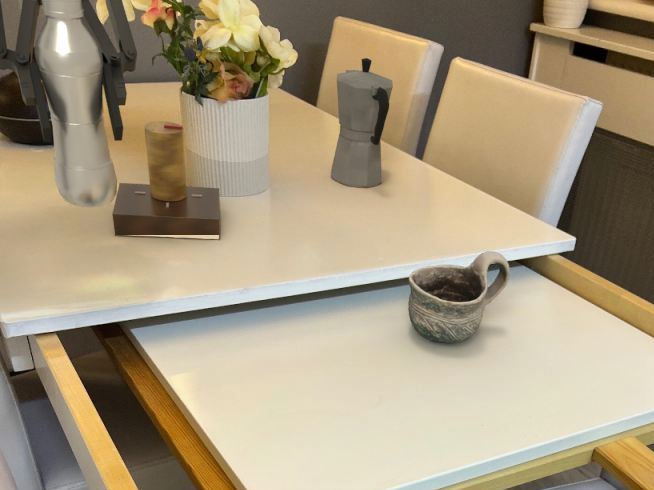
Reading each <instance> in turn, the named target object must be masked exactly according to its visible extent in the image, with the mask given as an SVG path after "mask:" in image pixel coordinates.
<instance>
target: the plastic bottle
mask: <svg viewBox="0 0 654 490" xmlns="http://www.w3.org/2000/svg"><path fill="white" fill-rule="evenodd" d="M40 8H41V13H42V14H43V15H45V20H44V23H43V25H42V27H41V29H40V30H39V33H38V35H37V37H36V40H35V42H34V44H35V45H34V56H35V57H34V58H35V60H36V62H35V63H37V65H38V69H39V74H40V79H41V83H42V87H43V90H44V93H45V96H46V102H47V106H48V111H49V112H50V120H51V126H52V136H53V147H54V161H53V162H54V164H53V169H54V170H53V171H54V173H53V174H54V182H55V185H56V188H57V191H58V194H59V195H60V196H61V197H62V199H63V200H64V201H65V202H66V203H68V204H69V205H71V206H76V207H81V208H99V207H104V206H107V205H109V204H110V203H112V202H113V201H114V199H115V197H116V196H117V192H118V178H117V173H116V169H115V166H114V162H113V158H112V157H111V153H110V147H109V142H108V141H109V140H108V136H107V131H106V127H105V116H104V99H103V93H104V88H103V68H102V67H103V57H102V54H101V51H100V48H99V45H98V44H97V42H96V41H95V39H94V37H93V36H92V34H91V33H90V32H89V30H88V29H87V28H86V26H85V25H84V24H83V22H82V19H81V17H83V16H84V10H83V8H82V3H81V0H42V5H40Z"/></svg>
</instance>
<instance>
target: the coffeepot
mask: <svg viewBox="0 0 654 490" xmlns="http://www.w3.org/2000/svg"><path fill="white" fill-rule="evenodd" d="M371 65H372V59H370V58H367V57H365V58H364V57H363V58H361V70H358V69H357V70H356V69H352V70H351V69H346V70H345V72H339V73H337V74H336V90H337V91H336V92H337V93H336V94H337V106H338V107H337V110H338V124H339V134H338V137H337V143H336V147H335V151H334V156H333V160H332V165H331V169H330V170H331V172H330V178H331V179H332V180H333V181H334V182H337V183H338V184H341V185H344V186H348V187H353V188H360V189H361V188H372V187H377V186H378V185H380V184H383V173H382V145H381V138H382V135H383V133H384V132H383V131H384V127H385V123H386V120H387V116H388V113H389V110H390V99H391V95H392V92H393V88H394V85H393V80H392V79H390V78H388V77H385V76H383V75H380V74H378V73H374V72H371V71H370V70H371Z"/></svg>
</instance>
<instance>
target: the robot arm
mask: <svg viewBox="0 0 654 490" xmlns="http://www.w3.org/2000/svg"><path fill="white" fill-rule="evenodd" d="M104 1H105V5H106V10H107V13H108V17H109V20H110V22H111V27H112V30H113V33H114V37H115V41H116V44H117V47H118V51H119V52H118V51H117V49H116V47H115V45H114V43H113V42H112V39H111V37H110V36H109V35H108V33H107V30H106V29H105V27H104V25H103V23H102V22H101V20H100V17H99V16H98V14H97V13H96V11H95V9H94V7H93V5H92V3H91V2H90V0H81V3H82V8H83V10H84V16H83V17H81V19H82V22H83V24H84V25H85V26H86V28H87V29H88V30H89V32H90V33H91V34H92V36H93V37H94V39H95V41H96V42H97V44H98V45H99V48H100V51H101V54H102V57H103V67H102V68H103V93H104V96H105V101H106V102H105V103H106V106H107V111H108V116H109V120H110V126H111V131H112V136H113V139H114V141H116V142H117V141H118V142H119V141H123V135H124V125H123V118H122V115H121V109H120V106H126V103H127V96H128V93H127V88H126V82H125V77H124V74H125V72H128V73H132V72H134V71H136V69H137V67H136V66H137V59H138V51H137V47H136V44H135V41H134V37H133V34H132V31H131V30H132V29H131V27H130V23H129V20H128V17H127V14H126V13H127V12H126V10H125V7H124V2H123V0H104ZM41 6H42V0H22V4H21V10H20V16H19V23H18V29H17V37H16V43H15V44H16V45H15V50H12V49H9V48H8V47H7V38H6V31H5V23H4V15H3V7H2V0H0V70H2V71H5V70H10V71H12V72H14V73H15V74H16V76H17V78H18V83H19V87H20V92H21V96H22V101H23V102H24V104H25V106H36V111H37V112H36V113H37V116H38V121H39V125H40V130H41V135H42V139H43V143H52V142H53V139H52V127H51V126H52V125H51V122H50V117H49V112H48V108H47V102H46V99H45V94H44V93H45V92H44V87H43V83H42V79H41V75H40V72H39V69H38V64H37V62H32V60H33V52H34V47H35V45H34V44H35V39H36V33H37V32H36V31H37V26H38V25H37V24H38V19H39V15H40V8H41Z"/></svg>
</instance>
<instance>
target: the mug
mask: <svg viewBox="0 0 654 490" xmlns="http://www.w3.org/2000/svg"><path fill="white" fill-rule="evenodd" d="M492 264H498V265H499V271H498V274H497V275H496V277H495V279H494V281H493V282H492V283H491V284H490V285H489V286H488V278H487V275H488V274H487V273H488V269H489V267H490V266H491V265H492ZM510 275H511V269H510V265H509V262H508V260H507V258H506V257H505V256H504V255H503V254H501V253H500V252H498V251H493V250H491V251H489V250H488V251H484V252H481V253H480V254H478V255H477V256H476V257H475V259H474V260H473V261H472V262H471V263H470V264H469V265H468V266H464V265H458V264H437V265H426V266H423V267H420V268H416V269H414V270H413V271H412V272H411V273H410V274H409V276H408V283H409V287H410V293H409V297H408V303H407V304H408V305H407V307H408V308H407V309H408V317H409V321H410V323H411V326H412V327H413V329H414V330H415V331H416V332H417V333H419V335H420V336H422V337H424V338H426V339H428V340H430V341H433V342H436V343H448V344H449V343H459V342H463V341H465V340H467V339H469V338H470V337H472V336H473V334H475V333H476V331H477V330H478V329H479V327H480V326H481V323H482V321H483V318H484V311H485V308H486V306H488V305H489V304H490V303H491V302H492V301H494V300H495V299H496V298H497V297H498V296H499V294H501V292H502V291H504V289H505V287H506V286H507V284H508V282H509V280H510V277H511V276H510Z"/></svg>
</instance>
